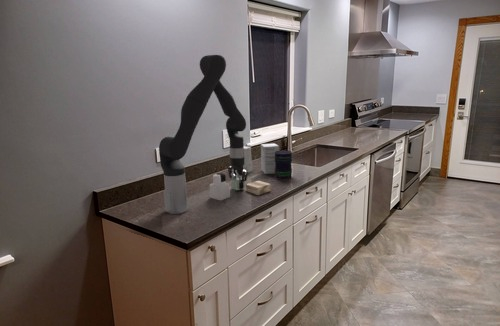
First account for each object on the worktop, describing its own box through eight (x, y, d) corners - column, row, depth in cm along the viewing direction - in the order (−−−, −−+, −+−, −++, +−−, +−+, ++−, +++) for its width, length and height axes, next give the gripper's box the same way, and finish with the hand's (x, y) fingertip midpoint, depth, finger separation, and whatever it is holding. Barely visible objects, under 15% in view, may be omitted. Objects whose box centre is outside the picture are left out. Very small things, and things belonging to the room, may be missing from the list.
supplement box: (279, 173, 214) (279, 145, 210) (264, 174, 212) (264, 146, 208) (275, 169, 223) (275, 143, 219) (261, 170, 221) (260, 144, 217)
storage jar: (291, 174, 209) (291, 150, 206) (292, 179, 200) (292, 153, 196) (275, 174, 210) (274, 150, 207) (274, 179, 201) (274, 154, 197)
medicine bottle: (220, 194, 179) (219, 171, 176) (230, 196, 174) (229, 173, 172) (210, 198, 174) (208, 174, 171) (220, 201, 169) (219, 177, 166)
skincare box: (252, 171, 220) (251, 146, 216) (246, 173, 214) (246, 148, 211) (241, 169, 224) (240, 145, 220) (235, 172, 219) (234, 147, 215)
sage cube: (237, 190, 181) (237, 181, 180) (231, 188, 185) (231, 179, 184) (244, 188, 185) (244, 179, 183) (238, 186, 188) (238, 177, 187)
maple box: (257, 195, 176) (257, 188, 175) (246, 191, 183) (245, 184, 182) (270, 191, 182) (270, 184, 181) (258, 187, 189) (258, 180, 188)
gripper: (222, 155, 183) (224, 186, 188) (240, 159, 173) (241, 192, 177) (234, 152, 188) (235, 183, 192) (251, 156, 178) (252, 189, 182)
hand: (238, 187), depth 185 cm, fingers closed on sage cube, 5 cm apart
